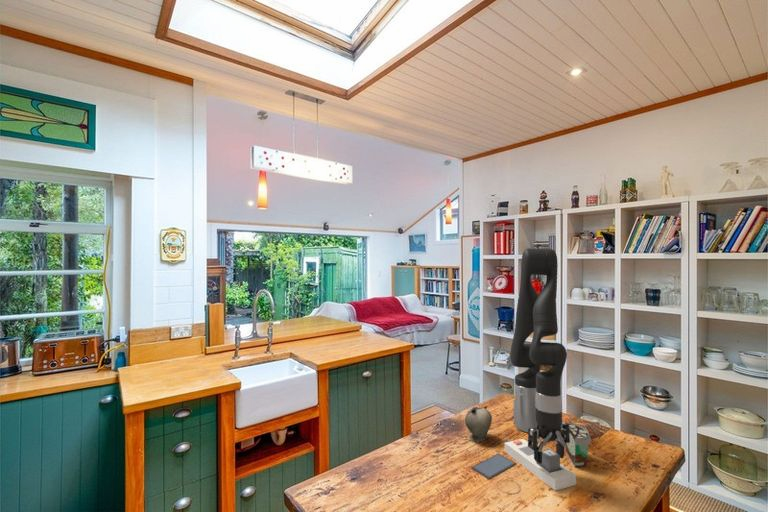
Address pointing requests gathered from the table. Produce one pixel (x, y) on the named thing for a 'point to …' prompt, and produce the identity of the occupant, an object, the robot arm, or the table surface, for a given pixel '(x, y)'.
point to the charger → (550, 460)
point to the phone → (493, 466)
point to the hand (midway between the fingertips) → (549, 459)
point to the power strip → (526, 458)
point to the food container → (578, 445)
